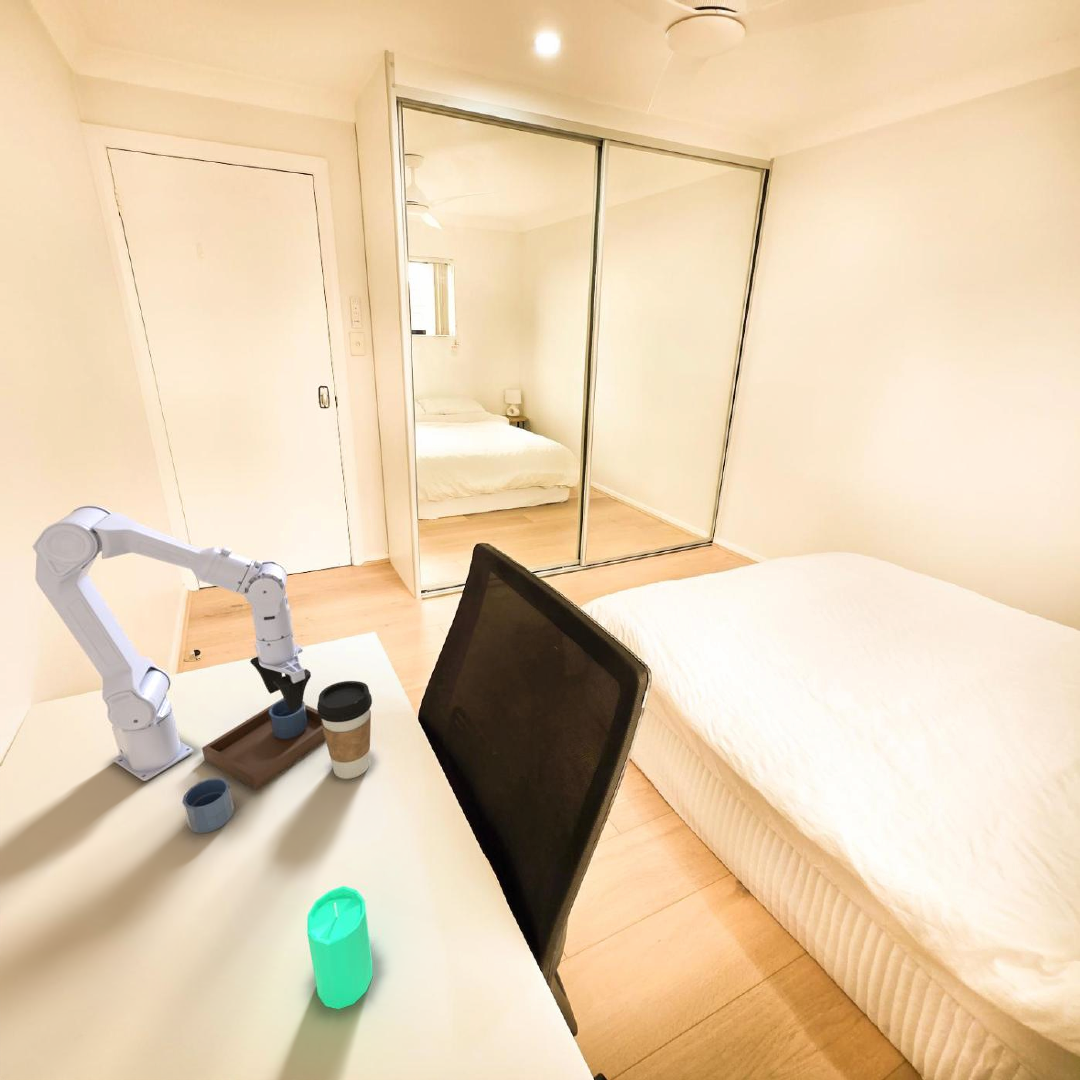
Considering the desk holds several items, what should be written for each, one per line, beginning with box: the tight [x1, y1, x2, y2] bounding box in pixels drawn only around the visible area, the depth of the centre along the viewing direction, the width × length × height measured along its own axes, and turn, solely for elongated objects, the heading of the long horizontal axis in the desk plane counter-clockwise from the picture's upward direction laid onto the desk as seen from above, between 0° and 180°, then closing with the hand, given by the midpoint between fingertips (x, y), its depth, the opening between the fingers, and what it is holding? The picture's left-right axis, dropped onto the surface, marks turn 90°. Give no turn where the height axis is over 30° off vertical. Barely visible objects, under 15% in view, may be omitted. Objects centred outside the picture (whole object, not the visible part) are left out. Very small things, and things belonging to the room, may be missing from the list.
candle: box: [306, 885, 374, 1010], centre depth 58 cm, size 6×6×12 cm
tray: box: [201, 698, 326, 791], centre depth 94 cm, size 14×17×3 cm
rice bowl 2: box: [269, 698, 307, 739], centre depth 97 cm, size 6×6×5 cm
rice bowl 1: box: [181, 777, 235, 834], centre depth 79 cm, size 6×6×5 cm
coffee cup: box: [316, 680, 373, 780], centre depth 88 cm, size 8×8×15 cm
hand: (285, 699), depth 95 cm, fingers open, 7 cm apart
